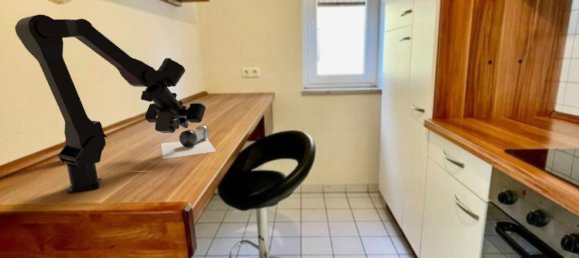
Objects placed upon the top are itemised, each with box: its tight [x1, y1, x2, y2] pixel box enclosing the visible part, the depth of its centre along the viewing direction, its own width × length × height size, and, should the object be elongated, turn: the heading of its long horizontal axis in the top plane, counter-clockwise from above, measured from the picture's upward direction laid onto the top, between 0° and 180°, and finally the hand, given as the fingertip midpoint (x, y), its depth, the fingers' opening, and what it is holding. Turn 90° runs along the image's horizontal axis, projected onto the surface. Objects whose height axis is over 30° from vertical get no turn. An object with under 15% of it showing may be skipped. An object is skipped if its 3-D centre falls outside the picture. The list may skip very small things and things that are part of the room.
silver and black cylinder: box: [178, 124, 210, 147], centre depth 116 cm, size 6×6×11 cm
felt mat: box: [160, 138, 217, 160], centre depth 112 cm, size 20×16×1 cm
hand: (186, 126), depth 111 cm, fingers closed
